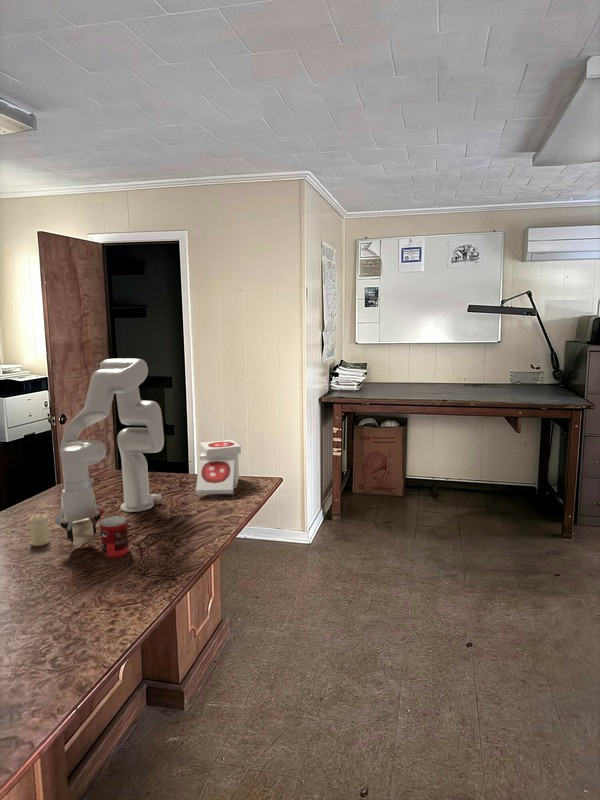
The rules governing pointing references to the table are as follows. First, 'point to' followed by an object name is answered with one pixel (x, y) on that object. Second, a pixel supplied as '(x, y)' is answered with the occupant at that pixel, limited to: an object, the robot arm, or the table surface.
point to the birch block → (82, 531)
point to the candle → (39, 529)
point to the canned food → (114, 537)
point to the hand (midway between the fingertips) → (82, 537)
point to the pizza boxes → (218, 467)
